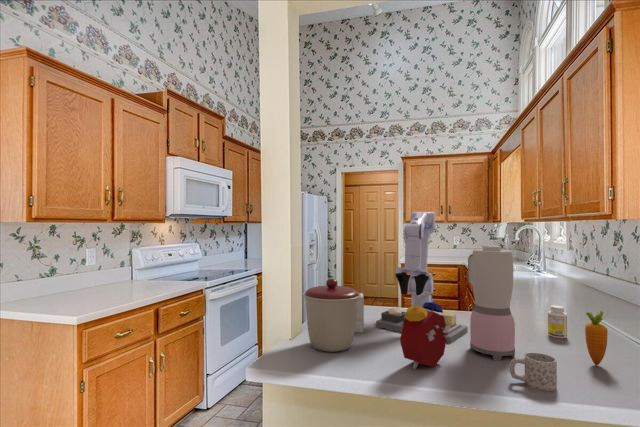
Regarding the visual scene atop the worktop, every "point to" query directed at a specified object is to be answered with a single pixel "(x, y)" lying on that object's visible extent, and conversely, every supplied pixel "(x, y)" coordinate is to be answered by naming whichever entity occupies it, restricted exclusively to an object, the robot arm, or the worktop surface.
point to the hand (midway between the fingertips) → (411, 294)
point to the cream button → (395, 311)
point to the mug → (537, 371)
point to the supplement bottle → (557, 322)
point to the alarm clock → (424, 333)
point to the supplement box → (360, 315)
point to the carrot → (596, 338)
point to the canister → (331, 316)
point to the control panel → (398, 320)
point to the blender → (492, 301)
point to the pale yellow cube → (449, 319)
